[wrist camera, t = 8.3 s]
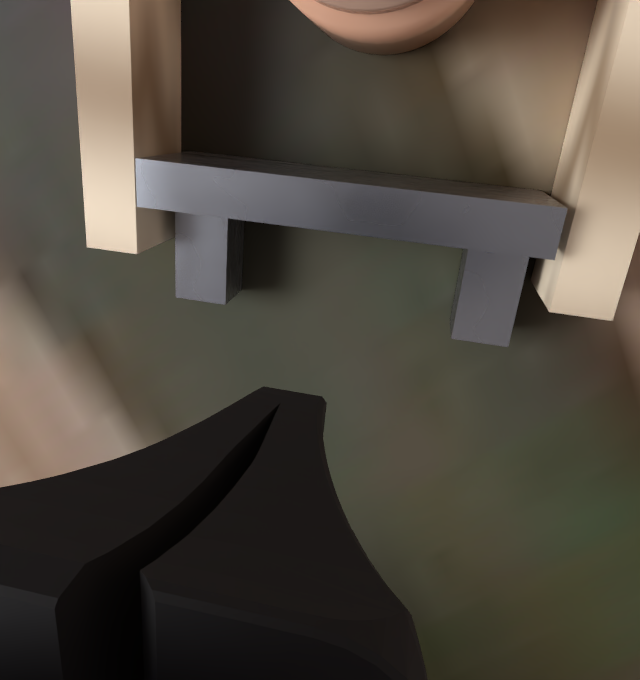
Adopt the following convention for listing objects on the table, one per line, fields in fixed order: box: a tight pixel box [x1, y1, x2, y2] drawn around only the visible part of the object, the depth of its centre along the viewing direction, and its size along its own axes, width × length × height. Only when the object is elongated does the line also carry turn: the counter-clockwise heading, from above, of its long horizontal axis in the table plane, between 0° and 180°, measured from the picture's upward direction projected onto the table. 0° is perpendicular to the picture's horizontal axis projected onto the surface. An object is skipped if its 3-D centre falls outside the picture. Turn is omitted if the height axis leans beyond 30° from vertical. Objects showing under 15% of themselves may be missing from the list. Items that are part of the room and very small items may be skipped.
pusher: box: [135, 151, 568, 347], centre depth 16 cm, size 4×10×4 cm, turn 85°
